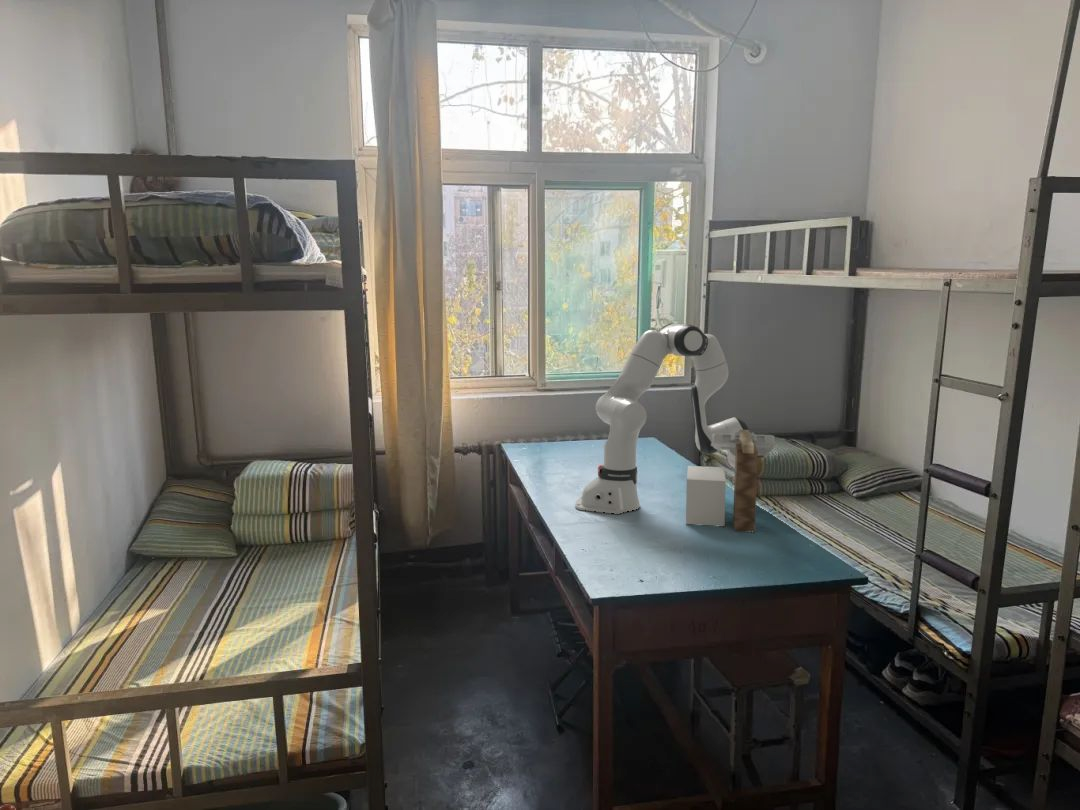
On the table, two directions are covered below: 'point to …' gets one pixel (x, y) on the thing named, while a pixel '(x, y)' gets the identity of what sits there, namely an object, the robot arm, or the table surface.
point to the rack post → (745, 489)
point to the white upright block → (705, 495)
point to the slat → (746, 441)
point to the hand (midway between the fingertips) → (744, 434)
